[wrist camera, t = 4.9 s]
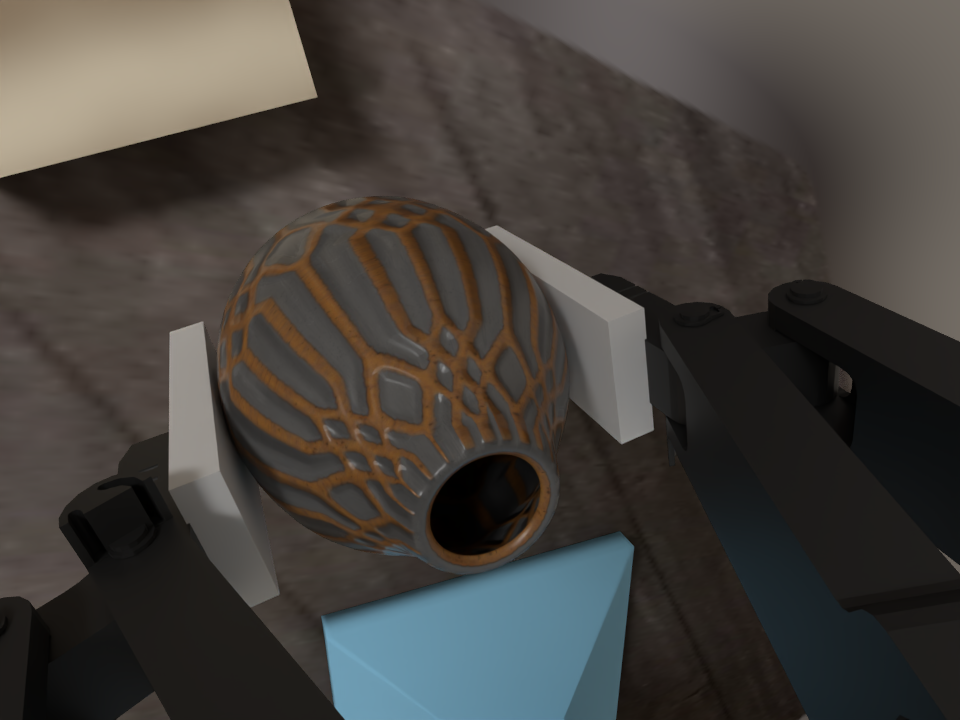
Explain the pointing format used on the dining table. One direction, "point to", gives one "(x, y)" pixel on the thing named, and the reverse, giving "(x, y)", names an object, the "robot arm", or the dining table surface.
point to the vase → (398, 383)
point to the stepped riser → (137, 71)
